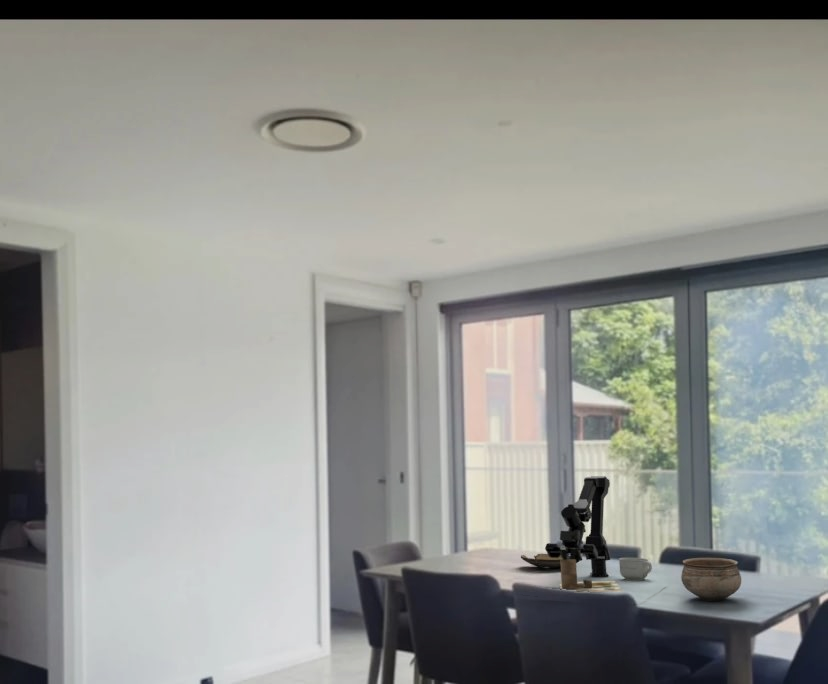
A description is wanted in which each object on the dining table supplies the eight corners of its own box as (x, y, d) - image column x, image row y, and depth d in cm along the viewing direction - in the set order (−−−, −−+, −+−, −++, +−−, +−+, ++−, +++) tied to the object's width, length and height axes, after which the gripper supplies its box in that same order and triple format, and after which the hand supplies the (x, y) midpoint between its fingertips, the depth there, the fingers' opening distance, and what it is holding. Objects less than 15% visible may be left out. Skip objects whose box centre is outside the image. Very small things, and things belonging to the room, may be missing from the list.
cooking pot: (711, 590, 283) (709, 554, 285) (760, 598, 268) (757, 560, 269) (664, 600, 270) (662, 563, 271) (713, 609, 254) (710, 569, 255)
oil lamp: (509, 567, 347) (508, 549, 348) (562, 560, 363) (561, 542, 363) (542, 574, 328) (541, 555, 329) (597, 566, 344) (596, 547, 344)
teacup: (614, 579, 312) (613, 557, 313) (638, 576, 316) (636, 555, 317) (636, 584, 299) (635, 562, 300) (660, 581, 303) (659, 559, 304)
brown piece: (609, 585, 294) (607, 556, 295) (612, 586, 291) (610, 558, 292) (561, 587, 292) (559, 559, 293) (563, 589, 289) (561, 560, 290)
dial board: (558, 584, 304) (558, 581, 304) (615, 583, 302) (615, 580, 302) (561, 595, 284) (561, 591, 284) (622, 594, 282) (622, 590, 282)
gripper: (545, 521, 303) (535, 556, 293) (593, 522, 294) (585, 558, 283) (554, 539, 309) (545, 574, 299) (601, 540, 300) (594, 577, 289)
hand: (566, 570), depth 292 cm, fingers closed
